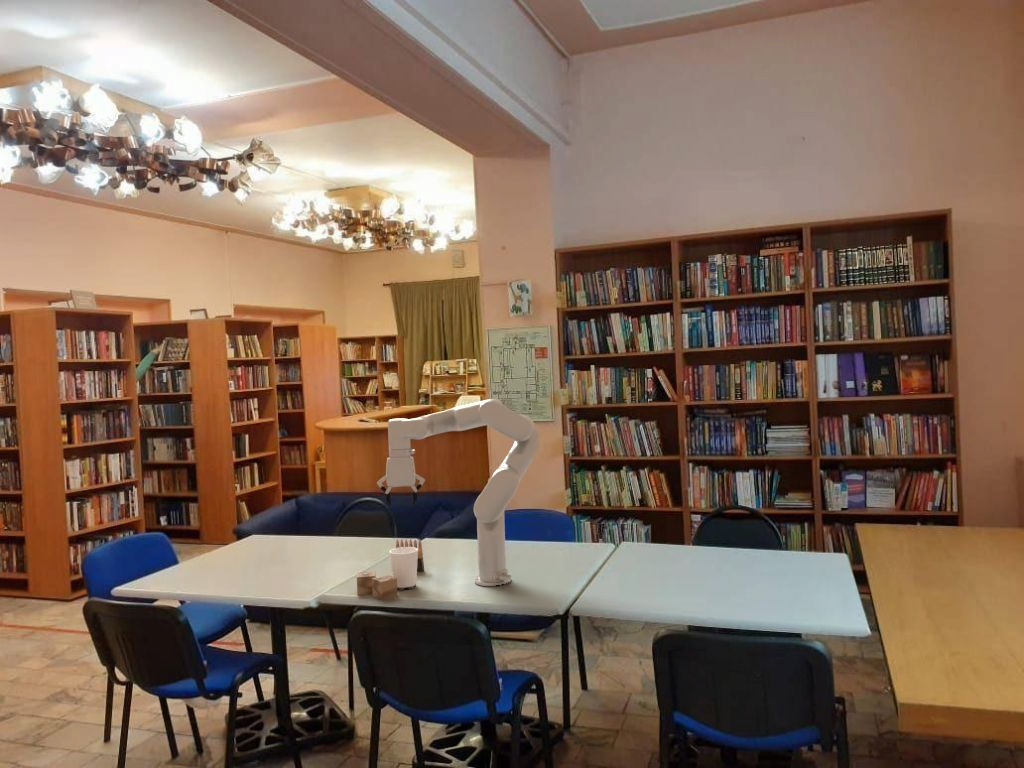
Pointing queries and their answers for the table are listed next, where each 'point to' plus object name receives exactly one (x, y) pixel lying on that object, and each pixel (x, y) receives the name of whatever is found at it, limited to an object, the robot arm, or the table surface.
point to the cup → (404, 566)
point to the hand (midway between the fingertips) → (401, 503)
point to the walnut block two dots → (384, 587)
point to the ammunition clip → (420, 554)
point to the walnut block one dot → (365, 582)
